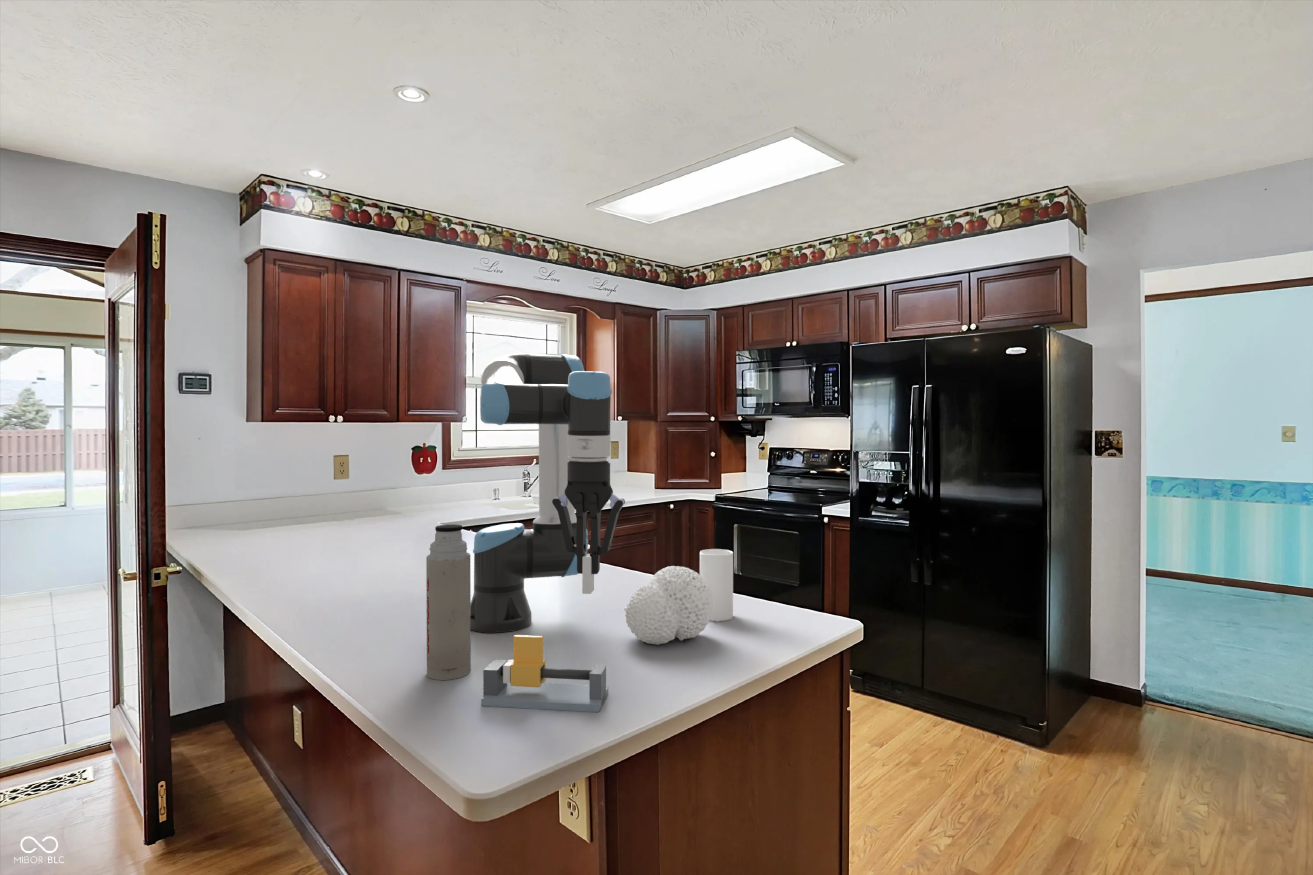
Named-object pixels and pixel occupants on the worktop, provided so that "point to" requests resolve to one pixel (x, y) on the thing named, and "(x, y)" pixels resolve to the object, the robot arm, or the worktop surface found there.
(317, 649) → the worktop surface
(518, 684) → the yellow sliding carriage
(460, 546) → the thermos bottle
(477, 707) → the worktop surface
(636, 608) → the white coral
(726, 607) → the cup
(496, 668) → the rail rig
